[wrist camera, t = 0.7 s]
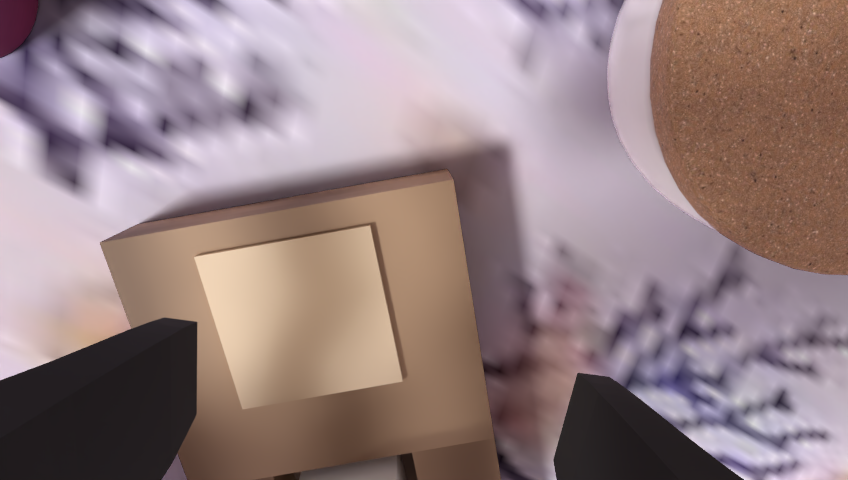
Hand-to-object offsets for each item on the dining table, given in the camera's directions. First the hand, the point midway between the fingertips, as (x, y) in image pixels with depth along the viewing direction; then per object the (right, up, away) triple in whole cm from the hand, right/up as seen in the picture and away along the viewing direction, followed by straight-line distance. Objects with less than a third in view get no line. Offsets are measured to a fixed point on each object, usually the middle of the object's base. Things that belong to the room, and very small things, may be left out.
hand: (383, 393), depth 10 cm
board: (-3, -4, +12) cm, 13 cm away
